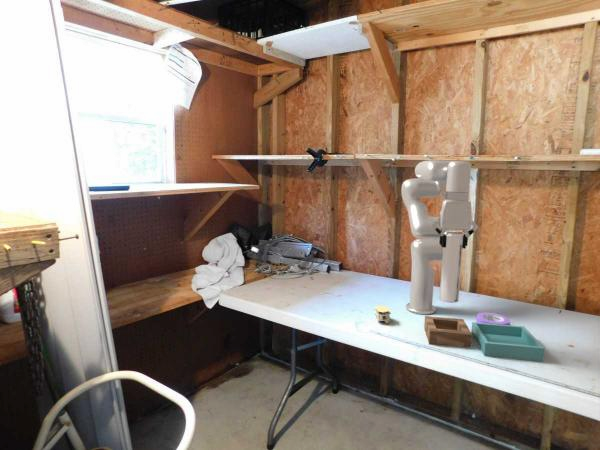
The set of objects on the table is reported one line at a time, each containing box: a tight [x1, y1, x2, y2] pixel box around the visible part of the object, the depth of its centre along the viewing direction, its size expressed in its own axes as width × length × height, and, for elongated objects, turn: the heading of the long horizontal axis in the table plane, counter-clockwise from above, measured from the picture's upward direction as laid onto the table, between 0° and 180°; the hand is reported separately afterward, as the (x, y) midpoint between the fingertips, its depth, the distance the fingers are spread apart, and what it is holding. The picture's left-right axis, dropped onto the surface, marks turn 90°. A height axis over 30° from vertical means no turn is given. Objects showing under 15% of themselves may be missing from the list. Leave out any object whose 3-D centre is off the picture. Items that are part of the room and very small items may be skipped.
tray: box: [470, 321, 546, 362], centre depth 137 cm, size 18×18×4 cm
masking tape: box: [476, 312, 511, 325], centre depth 155 cm, size 12×12×4 cm
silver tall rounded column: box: [438, 230, 464, 304], centre depth 140 cm, size 6×6×25 cm
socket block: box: [423, 315, 473, 349], centre depth 144 cm, size 14×14×5 cm
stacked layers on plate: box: [374, 305, 392, 324], centre depth 158 cm, size 10×9×6 cm
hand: (452, 246), depth 139 cm, fingers closed on silver tall rounded column, 6 cm apart
